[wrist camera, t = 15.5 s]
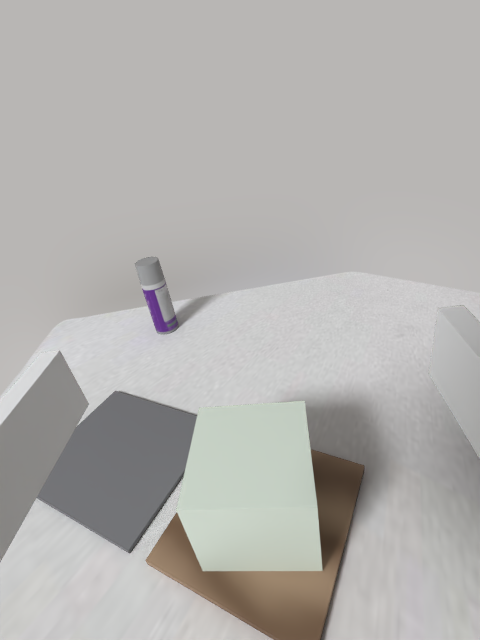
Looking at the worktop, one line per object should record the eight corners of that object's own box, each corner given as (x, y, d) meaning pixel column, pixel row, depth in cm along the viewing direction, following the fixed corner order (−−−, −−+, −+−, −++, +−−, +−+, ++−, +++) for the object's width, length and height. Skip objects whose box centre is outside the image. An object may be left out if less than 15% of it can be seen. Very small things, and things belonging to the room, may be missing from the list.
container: (152, 330, 74) (129, 264, 67) (169, 320, 77) (149, 255, 70) (165, 336, 72) (143, 268, 64) (183, 325, 74) (163, 258, 67)
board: (234, 429, 48) (233, 425, 48) (364, 470, 40) (364, 465, 40) (147, 564, 35) (145, 560, 35) (314, 663, 27) (313, 660, 27)
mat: (116, 393, 59) (115, 390, 59) (218, 424, 49) (217, 422, 49) (17, 486, 46) (15, 483, 46) (129, 553, 36) (128, 550, 36)
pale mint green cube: (217, 467, 43) (198, 407, 37) (310, 463, 41) (304, 400, 36) (202, 571, 33) (175, 510, 28) (322, 571, 32) (317, 506, 27)
